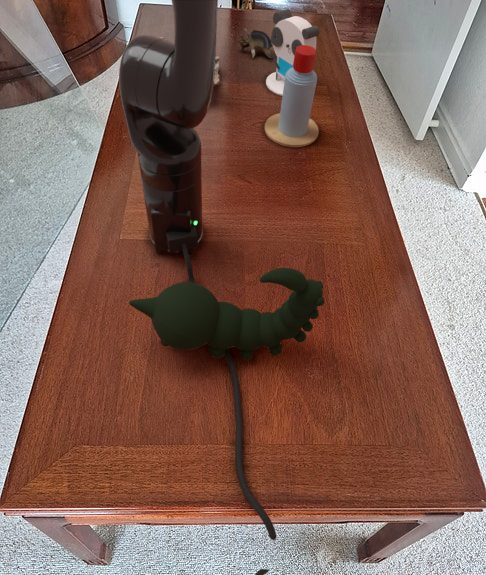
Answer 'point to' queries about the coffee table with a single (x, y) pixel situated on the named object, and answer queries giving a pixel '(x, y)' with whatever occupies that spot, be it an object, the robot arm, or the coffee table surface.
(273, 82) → the panda figurine
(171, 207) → the robot arm
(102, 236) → the coffee table surface
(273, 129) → the coaster
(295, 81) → the bottle
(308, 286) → the toy figurine
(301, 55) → the bottle cap
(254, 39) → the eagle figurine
